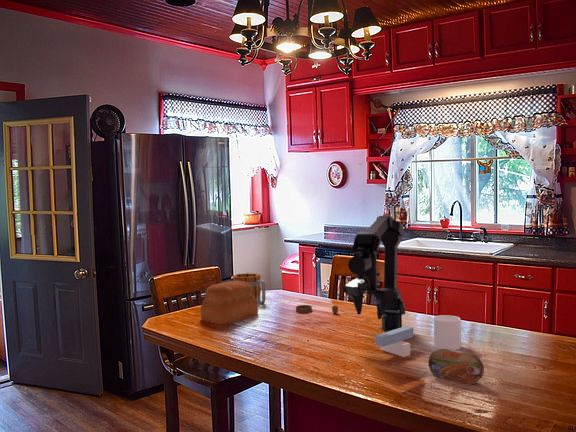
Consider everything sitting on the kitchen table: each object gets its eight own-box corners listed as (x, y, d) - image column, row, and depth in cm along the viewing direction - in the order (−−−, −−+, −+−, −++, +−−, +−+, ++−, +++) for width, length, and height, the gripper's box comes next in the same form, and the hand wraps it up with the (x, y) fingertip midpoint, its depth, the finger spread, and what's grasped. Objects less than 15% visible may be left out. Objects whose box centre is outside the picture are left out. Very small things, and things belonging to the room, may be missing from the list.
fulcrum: (369, 355, 167) (369, 340, 167) (395, 348, 174) (395, 333, 174) (394, 364, 158) (394, 348, 158) (421, 356, 165) (420, 341, 165)
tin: (428, 376, 147) (427, 347, 147) (432, 373, 150) (432, 344, 149) (481, 388, 138) (481, 357, 137) (485, 384, 140) (485, 354, 140)
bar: (405, 334, 172) (405, 326, 172) (413, 336, 170) (413, 327, 170) (375, 345, 162) (375, 335, 162) (382, 346, 160) (382, 337, 160)
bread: (262, 319, 221) (261, 280, 220) (226, 330, 204) (224, 288, 203) (233, 314, 232) (232, 276, 231) (196, 324, 215) (195, 284, 214)
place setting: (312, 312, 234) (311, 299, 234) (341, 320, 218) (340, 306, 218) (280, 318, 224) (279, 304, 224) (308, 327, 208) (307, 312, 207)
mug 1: (227, 307, 247) (226, 275, 246) (248, 302, 256) (247, 272, 256) (254, 312, 233) (253, 279, 232) (276, 307, 242) (275, 276, 242)
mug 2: (471, 347, 173) (470, 316, 173) (452, 355, 165) (452, 322, 165) (447, 342, 179) (447, 312, 179) (428, 350, 171) (428, 318, 171)
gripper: (330, 269, 172) (332, 315, 173) (371, 275, 157) (372, 326, 158) (354, 266, 179) (355, 310, 180) (396, 271, 164) (397, 320, 165)
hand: (369, 316), depth 170 cm, fingers open, 9 cm apart
